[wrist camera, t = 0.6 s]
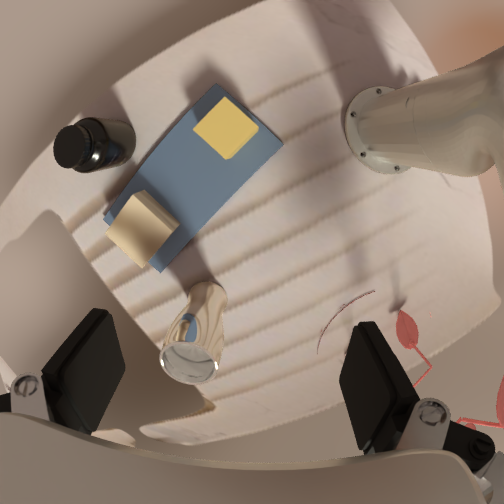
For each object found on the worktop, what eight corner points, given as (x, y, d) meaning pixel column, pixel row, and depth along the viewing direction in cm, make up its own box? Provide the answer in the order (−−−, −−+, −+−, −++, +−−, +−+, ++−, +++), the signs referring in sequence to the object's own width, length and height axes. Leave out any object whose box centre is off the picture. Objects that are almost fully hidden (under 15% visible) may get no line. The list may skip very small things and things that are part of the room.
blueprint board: (216, 84, 32) (216, 83, 31) (283, 144, 35) (283, 144, 34) (105, 218, 38) (103, 219, 38) (162, 270, 41) (160, 273, 40)
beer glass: (178, 302, 43) (148, 366, 29) (200, 269, 41) (174, 329, 27) (215, 325, 44) (200, 394, 30) (239, 294, 42) (231, 362, 28)
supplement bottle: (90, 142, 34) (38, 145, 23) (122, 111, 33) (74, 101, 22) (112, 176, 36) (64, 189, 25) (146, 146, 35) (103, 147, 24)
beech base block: (144, 189, 36) (132, 194, 32) (180, 223, 38) (172, 231, 34) (117, 225, 38) (105, 233, 34) (151, 257, 40) (141, 268, 36)
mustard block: (230, 105, 32) (224, 96, 27) (258, 130, 33) (258, 126, 28) (202, 132, 34) (192, 129, 28) (230, 158, 35) (225, 159, 29)
